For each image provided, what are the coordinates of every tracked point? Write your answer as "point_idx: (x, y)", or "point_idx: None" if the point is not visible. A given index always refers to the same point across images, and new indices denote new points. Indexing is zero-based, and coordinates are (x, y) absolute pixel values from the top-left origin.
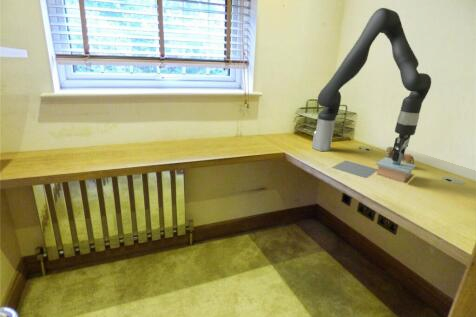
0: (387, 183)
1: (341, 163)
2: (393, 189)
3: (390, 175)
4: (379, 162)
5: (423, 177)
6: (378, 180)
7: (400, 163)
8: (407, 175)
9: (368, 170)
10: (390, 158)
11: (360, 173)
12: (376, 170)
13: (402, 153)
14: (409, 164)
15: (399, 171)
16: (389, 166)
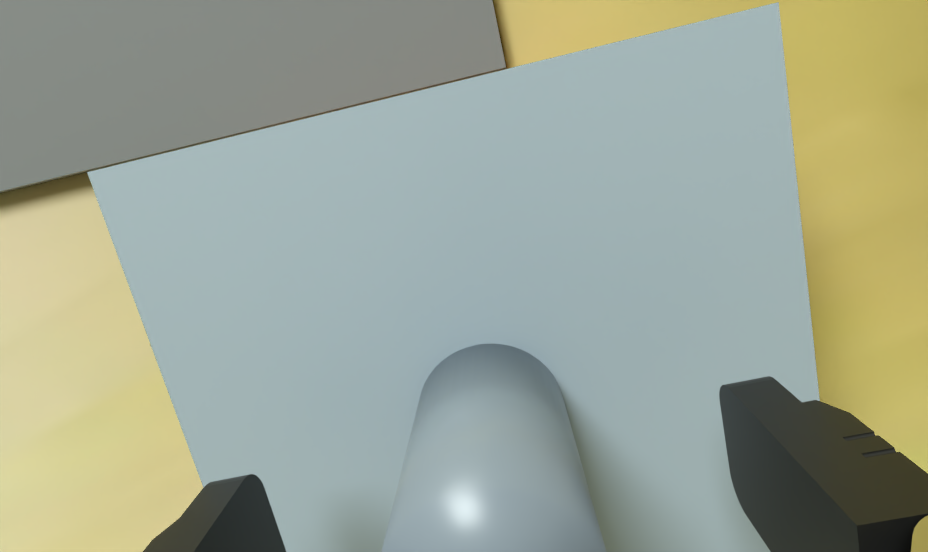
0: (156, 420)
1: None
2: (66, 541)
3: None
4: (209, 181)
5: None
6: (124, 308)
7: (620, 435)
8: None
9: (278, 7)
10: (787, 133)
11: (22, 31)
12: (422, 76)
13: (782, 543)
14: (736, 548)
15: None
16: (198, 421)
